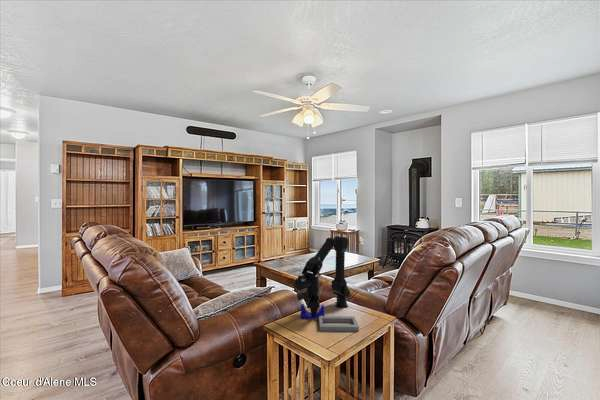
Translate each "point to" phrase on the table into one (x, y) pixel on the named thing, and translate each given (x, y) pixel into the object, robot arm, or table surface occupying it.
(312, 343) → the table surface
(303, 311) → the blue curved bracket
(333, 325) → the gray rectangular open frame
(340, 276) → the robot arm
